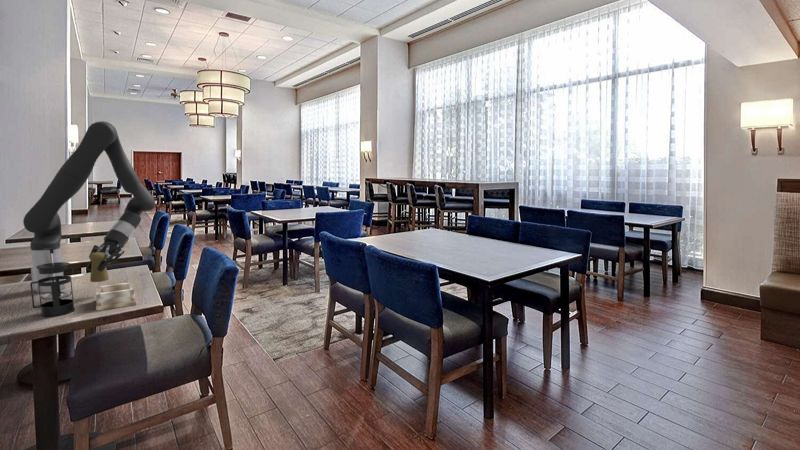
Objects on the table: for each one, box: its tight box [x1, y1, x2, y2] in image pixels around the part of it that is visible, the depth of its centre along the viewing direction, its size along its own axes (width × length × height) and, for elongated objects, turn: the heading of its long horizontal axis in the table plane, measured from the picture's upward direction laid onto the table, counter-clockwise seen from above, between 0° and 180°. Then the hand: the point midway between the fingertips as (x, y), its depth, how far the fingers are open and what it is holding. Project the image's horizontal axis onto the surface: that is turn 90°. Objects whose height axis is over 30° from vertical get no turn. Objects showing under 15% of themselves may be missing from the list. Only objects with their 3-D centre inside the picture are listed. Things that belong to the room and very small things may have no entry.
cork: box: [89, 252, 110, 283], centre depth 165 cm, size 6×6×11 cm
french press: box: [29, 247, 76, 318], centre depth 145 cm, size 12×9×23 cm
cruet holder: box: [95, 281, 137, 311], centre depth 158 cm, size 12×14×6 cm
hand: (94, 269), depth 163 cm, fingers closed on cork, 4 cm apart
